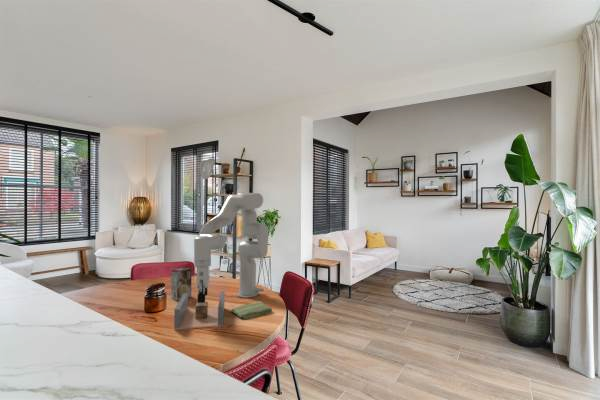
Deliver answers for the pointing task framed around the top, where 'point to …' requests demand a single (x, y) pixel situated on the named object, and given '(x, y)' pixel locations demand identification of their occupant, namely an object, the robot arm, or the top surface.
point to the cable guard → (187, 316)
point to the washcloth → (251, 310)
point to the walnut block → (201, 310)
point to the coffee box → (180, 283)
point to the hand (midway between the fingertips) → (202, 298)
